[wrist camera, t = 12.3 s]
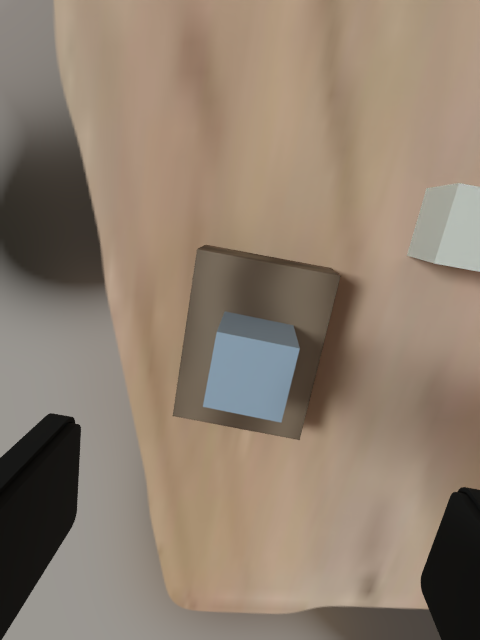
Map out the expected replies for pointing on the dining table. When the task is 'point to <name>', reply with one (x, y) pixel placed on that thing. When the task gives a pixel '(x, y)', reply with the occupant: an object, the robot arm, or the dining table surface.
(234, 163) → the dining table surface
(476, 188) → the cream block
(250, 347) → the slate blue block
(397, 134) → the dining table surface
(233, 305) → the walnut base block
